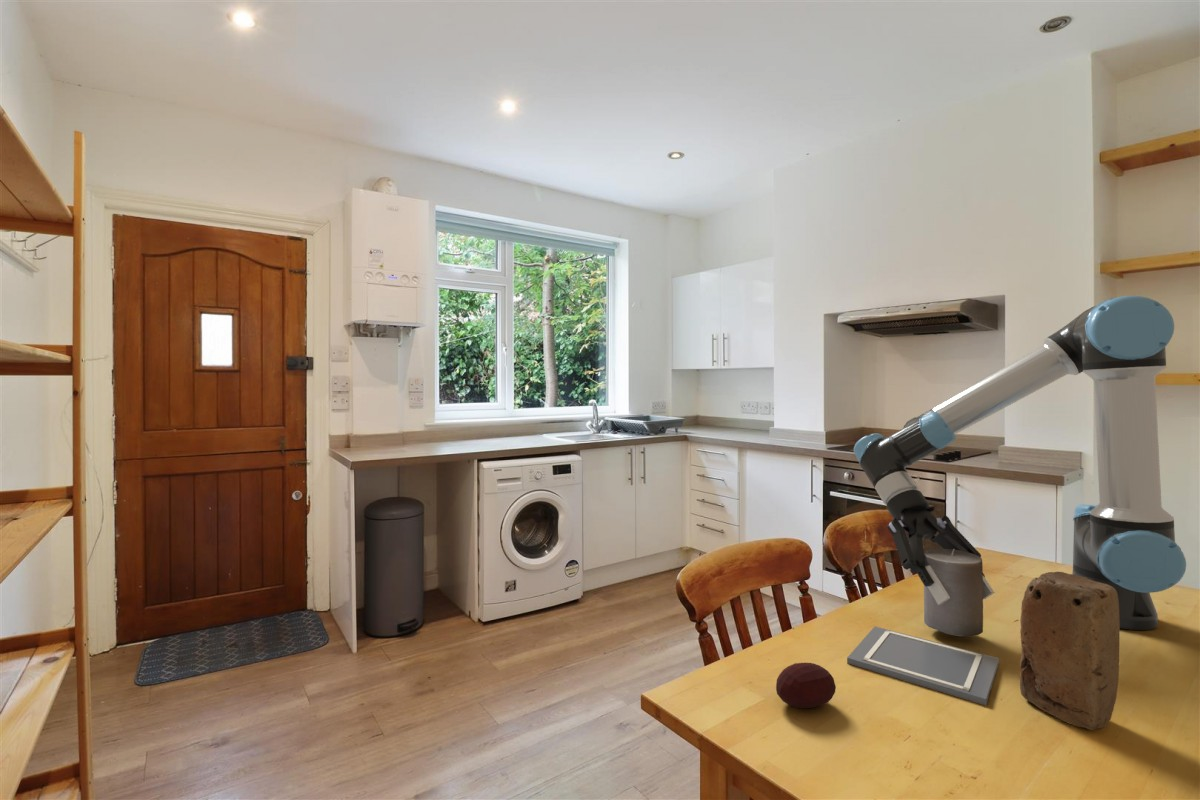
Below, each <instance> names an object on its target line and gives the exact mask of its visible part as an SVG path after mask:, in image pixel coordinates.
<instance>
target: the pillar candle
mask: <svg viewBox="0 0 1200 800" xmlns="http://www.w3.org/2000/svg"><path fill="white" fill-rule="evenodd" d="M924 557H925V567H926V566H929V565H930V566H931V568H932V569H933V571H934V572H935V574H936V576H937V577H938V579H939V580H940V582H941V584H942V585H943V587H944V588H945V590H946V592H947V593H948V595H949V597H950V599H948V600H947V601H946V602H944V603H943V604H942V605H938V604H937V602H936V600H935V599H934V597H933V595H932V594H931V592H930V590H929V589H928V587H926V586H925V585H924V584H923V621H924V622H923V623H924V624H925V625H926V626H927V627H928V628H930V629H933V630H936V631H938V632H941V633H944V634H946V635H950V636H956V637H974V636H975V637H976V636H980V635H981V634H982V633H983V632H984V599H983V574H984V572H983V571H984V570H983V558H982V556H981V557H979V556H977V555H975V554H972V553H968V552H964V551H959V550H955V549H953V550H952V549H943V548H931V549H927V550H924Z"/></svg>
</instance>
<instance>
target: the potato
mask: <svg viewBox="0 0 1200 800" xmlns="http://www.w3.org/2000/svg"><path fill="white" fill-rule="evenodd" d="M775 684H776V685H775V689H776V690H775V691H776V694H777V695H778V697H779V698H780V699H781V701H782V702H783V703H785V704H787V705H789V706H791V707H795V708H801V709H810V708H811V709H812V708H817V707H820V706H823V705H826V704H827V703H829V702H830V701H831V700H832V698H833V697H834V695H835V693H836V687H837V686H836V683H835V679H834V677H833V676H832V674H831V673H830V672H829V671H828V670H827V669H826V668H824V667H823V666H821V665H819V664H816V663H813V662H797V663H796V662H794V663H793V664H790V665H788V666H787V667H786V668H785V667H784V669H782V671H781V672H780V673H779V675H778V676H777V679H776V683H775Z"/></svg>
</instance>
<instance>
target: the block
mask: <svg viewBox="0 0 1200 800" xmlns="http://www.w3.org/2000/svg"><path fill="white" fill-rule="evenodd" d="M1021 600H1022V601H1021V609H1020V610H1021V611H1020V632H1019V633H1020V645H1021V653H1020V655H1021V656H1020V660H1019V661H1020V662H1019V689H1020V690H1019V691H1020V694H1021V696H1022V697H1023V698H1024V699H1025V700H1027V702H1030V703H1032V704H1034V706H1036V707H1037V708H1038V709H1040V710H1042V711H1043V712H1046V713H1048V714H1050V715H1051V716H1053V717H1055V718H1057V719H1059V720H1061V721H1063V722H1065V723H1067V724H1070V725H1073V726H1075V727H1078V728H1085V729H1088V730H1093V731H1094V730H1099V729H1102V728H1105V727H1106V726H1108V724H1109V722H1110V721H1111V719H1112V715H1113V713H1114V708H1115V705H1116V700H1117V696H1118V695H1117V694H1118V686H1119V676H1120V629H1121V628H1120V621H1119V601H1118V594H1117V591H1116V590H1115V589H1114V587H1112V586H1110V585H1108V584H1104V583H1100V582H1095V581H1093V580H1090V579H1088V578H1086V577H1082V576H1080V575H1075V574H1072V573H1071V574H1070V573H1066V572H1064V571H1049V572H1048V571H1047V572H1046V573H1045V572H1044V573H1041V574H1040V575H1039V577H1034V578H1033V579H1031V581H1030V582H1029V583H1028V585H1027V587H1026V589H1025V591H1024V596H1023V598H1022V599H1021Z"/></svg>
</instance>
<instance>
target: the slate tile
mask: <svg viewBox="0 0 1200 800" xmlns="http://www.w3.org/2000/svg"><path fill="white" fill-rule="evenodd" d="M846 658H847V660H846V663H847V664H849V665H852V666H855V667H858V668H861V669H865V670H869V671H872V672H874V673H878V674H880V675H881V674H882V675H885V676H887V677H891V678H894V679H896V680H897V679H898V680H901V681H905V682H906V683H910V684H914V685H917V686H919V687H920V686H921V687H924V688H925V689H929V690H933V691H937V692H941V693H943V694H947V695H948V696H949V695H950V696H953V697H956V698H959V699H963V700H966V701H969V702H973V703H976V704H980V705H982V706H987V703H988V700H989V697H990V694H991V690H992V687H993V684H994V680H995V677H996V674H997V671H998V667H999V664H1000V658H999V657H995V656H992V655H987V654H984V653H980V652H977V651H972V650H968V649H965V648H960V647H956V646H953V645H949V644H946V643H941V642H937V641H935V640H929V639H927V638H926V639H925V638H922V637H918V636H913V635H911V634H906V633H902V632H898V631H894V630H891V629H886V628H883V627H879V626H876V625H875V626H873V628H871V629H870V631H869V632H868V633H867V634H866V635H865V637H864V638H863V639H862V640H861V641H860V642H859V644H858V645H856V647H855V648H854V649H853V650H852V651H851V652H850V654H849V655H848V656H847V657H846Z"/></svg>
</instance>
